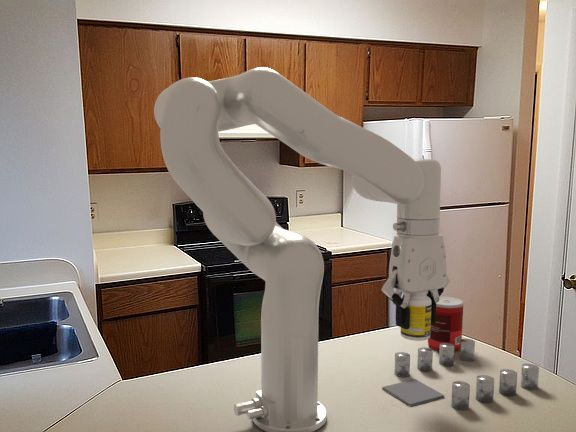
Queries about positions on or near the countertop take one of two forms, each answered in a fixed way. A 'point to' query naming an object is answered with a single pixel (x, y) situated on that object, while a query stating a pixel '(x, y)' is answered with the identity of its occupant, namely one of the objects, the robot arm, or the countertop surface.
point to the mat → (412, 392)
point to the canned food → (447, 323)
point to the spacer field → (483, 381)
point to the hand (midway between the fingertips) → (415, 323)
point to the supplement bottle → (418, 317)
